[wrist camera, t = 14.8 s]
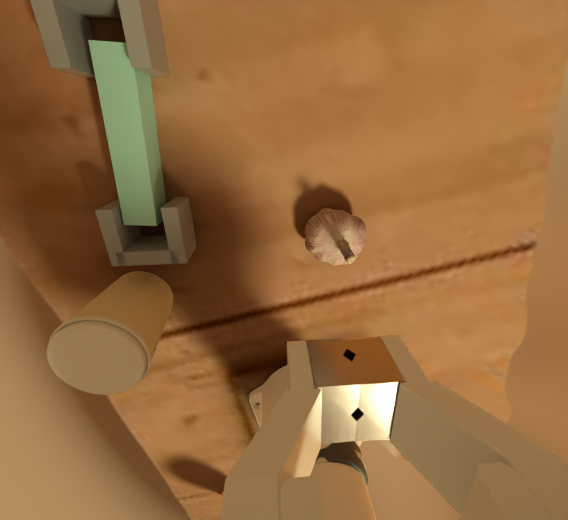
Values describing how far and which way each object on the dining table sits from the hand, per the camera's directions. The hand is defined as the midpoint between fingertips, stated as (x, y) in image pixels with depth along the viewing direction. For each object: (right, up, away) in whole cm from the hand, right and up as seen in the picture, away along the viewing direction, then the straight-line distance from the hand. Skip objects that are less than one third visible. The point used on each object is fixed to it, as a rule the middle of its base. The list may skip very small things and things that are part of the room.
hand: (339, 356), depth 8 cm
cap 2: (-16, +7, +26) cm, 32 cm away
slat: (-17, +15, +23) cm, 32 cm away
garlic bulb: (+5, +6, +28) cm, 29 cm away
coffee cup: (-20, -2, +31) cm, 37 cm away
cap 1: (-17, +23, +19) cm, 34 cm away
